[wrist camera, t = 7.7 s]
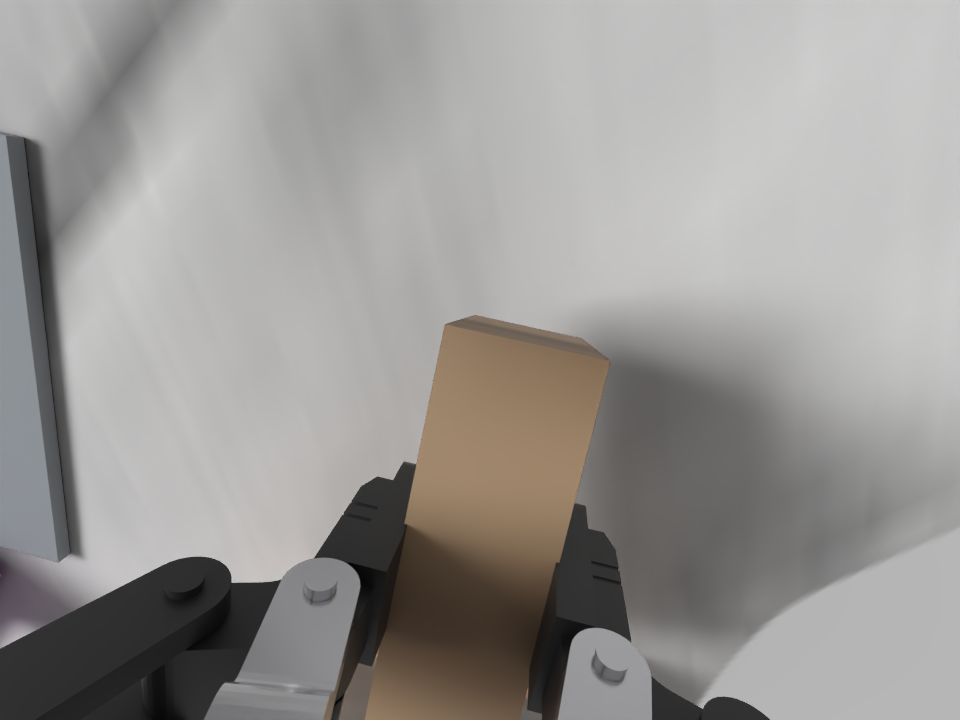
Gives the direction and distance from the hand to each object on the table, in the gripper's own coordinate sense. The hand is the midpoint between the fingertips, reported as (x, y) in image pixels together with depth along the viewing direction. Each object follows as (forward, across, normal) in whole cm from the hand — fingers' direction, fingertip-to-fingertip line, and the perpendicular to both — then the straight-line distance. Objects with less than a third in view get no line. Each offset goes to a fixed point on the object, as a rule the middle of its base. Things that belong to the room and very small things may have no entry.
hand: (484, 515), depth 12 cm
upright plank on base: (+2, 0, +2) cm, 3 cm away
